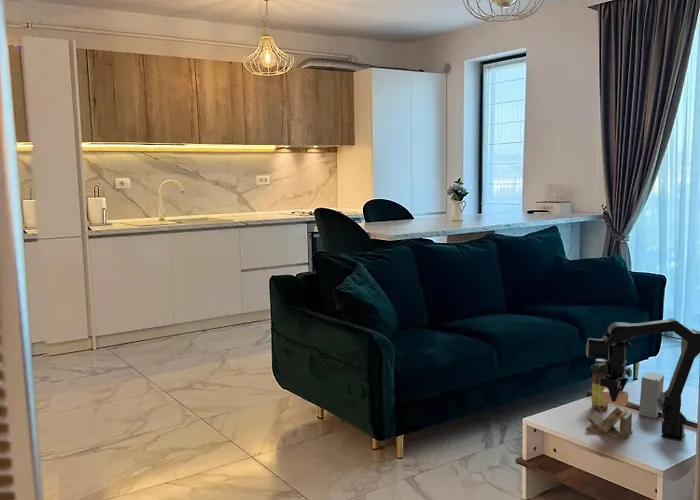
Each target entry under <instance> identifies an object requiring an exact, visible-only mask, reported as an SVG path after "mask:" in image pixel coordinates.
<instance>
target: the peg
mask: <svg viewBox="0 0 700 500" xmlns="http://www.w3.org/2000/svg"><path fill="white" fill-rule="evenodd" d="M602 402H605V403H608V404H610V405H611V404H613V405H616V406H622V407H626V406H627V405H628V403H629V392H628V391H624V390H623V391H620V392H619V394H618V396H617V398H616V401H615V402H613V401H612V400H611V397H610V393H609V390H608V389H607V388H605V389H604V390H603V393H602Z"/></svg>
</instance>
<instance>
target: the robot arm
mask: <svg viewBox="0 0 700 500" xmlns="http://www.w3.org/2000/svg"><path fill="white" fill-rule="evenodd" d="M669 332H673V333H675V334H676V335H677V336H679V337H680V338H681V342H680V350H681V351H680V356H679V358H678V360H677V363H676V366H675V368H674V371H673V374H672V377H671V379H670V382H669V385H668V388H667V389H666V390H665V391H663V392H662V391H660V395H659V398H658V399H657V402H658V407H659V409H660V410H661V412H660V413H661V414H662V415H663V416H664V418H663V420H662V422H661V437H663V438H667V439H673V440H675V441H676V440H677V441H680V442H681V441H683V439H684V438H685V436H686V433H685V424H686V422H687V420H688V419H687V417H686V416H685V415H684V413H683V412H682V411H681V407H682V393H683V390H684V388H685V385H686V383H687V380H688V377H689V375H690V371H691V370H692V366H693V363H694V361H695V359H696V358H697V356H699V355H700V332H699V331H698V330H696V329H692V328H690V329H689V328H688V327H686V326H685V325H683V324H681V323H680V321H678V320H677V319H676V318H671V317H670V318H668V319H661V320H660V319H659V320H652V321H646V322H638V323H637V322H635V323H633V322H632V323H631V322H624V321H623V322H620V321H619V322H618V321H617V322H616V321H615V322H614V321H613V322H612V323H610V325H609V326H608V327H607V331H606V332H605V333H604V334H603V336H602V337H601V338H593V337H588V338H587V342H586V345H585V354H586V357H587V358H598V359H605V357H607V360H606V362H604V363H598V364H595V363H593V364H592V365H591V366H590V372H591V373H592V376H593V375H597V374H602V373H605V375H607V376H604V377H603V378H602V379H600V386H604V387H607V388H608V390H609V393H610V397H611V400H612V401H613V402H615V401H616V398H617V396H618V394H619V392H620V391H624V389H625V387H626V385H627V383H628V381H629V378H631V377H632V375H633V370H632V369H631V368H630V367H627V366H626V364H627V363H628V361H627V360H626V354H627V353H626V349H627V348H632V347H633V345H632V344H631V343H630V342H629V341H628V340H631V339H633V338H635V337H637V336H645V335H654V334H661V333H669ZM607 355H608V356H607ZM626 375H627V377H628V378H627V377H626Z"/></svg>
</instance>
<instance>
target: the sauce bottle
mask: <svg viewBox="0 0 700 500" xmlns="http://www.w3.org/2000/svg"><path fill="white" fill-rule="evenodd" d="M594 361H595V362H594V364H598V363H604V362H606V361H607V360H606V359H605V358H596V359H595V360H594ZM604 376H608V375H605V373H602V374H597V375H593V374H592V380H591V381H592V382H591V407H592V408H593V409H594V410H598V411H606V410H608V407H609V403H605V402H602V393H603V390H604V389H605V388H607V387H604V386H600V379H602V378H603V377H604ZM607 389H608V388H607Z"/></svg>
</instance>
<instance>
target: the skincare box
mask: <svg viewBox="0 0 700 500" xmlns="http://www.w3.org/2000/svg"><path fill="white" fill-rule="evenodd" d="M664 381H665V375H664V374H660V373H656V372H652V371H647V372H645V374H643V376H642V377H641V384H640V385H641V386H640V396H639V397H640V399H639V407H638V409H639V410H638V415H639V416H643V417H647V418H650V419H657V418H658V417H659V415H658V413H659V412H660V411H661V410H660V409H659V407H658V402H657V399H658V398H659V395H660V391H662V392H664ZM660 413H661V412H660Z"/></svg>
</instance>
